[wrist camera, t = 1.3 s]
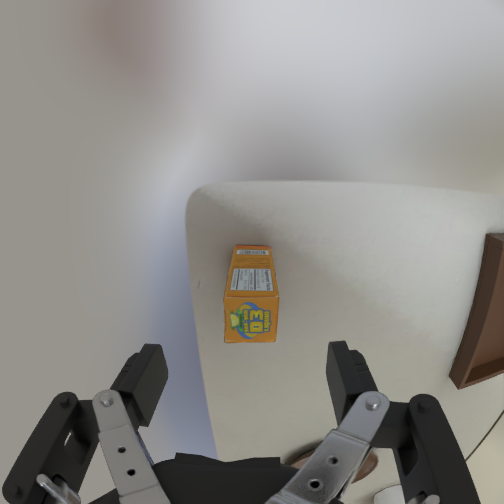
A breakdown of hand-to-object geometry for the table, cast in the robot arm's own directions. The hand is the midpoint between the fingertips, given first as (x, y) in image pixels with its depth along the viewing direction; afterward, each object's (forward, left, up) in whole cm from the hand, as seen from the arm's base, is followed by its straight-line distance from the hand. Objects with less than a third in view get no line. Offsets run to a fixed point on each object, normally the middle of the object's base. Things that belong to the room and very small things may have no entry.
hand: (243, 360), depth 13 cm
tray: (+8, +32, -13) cm, 35 cm away
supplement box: (0, 0, -13) cm, 13 cm away
